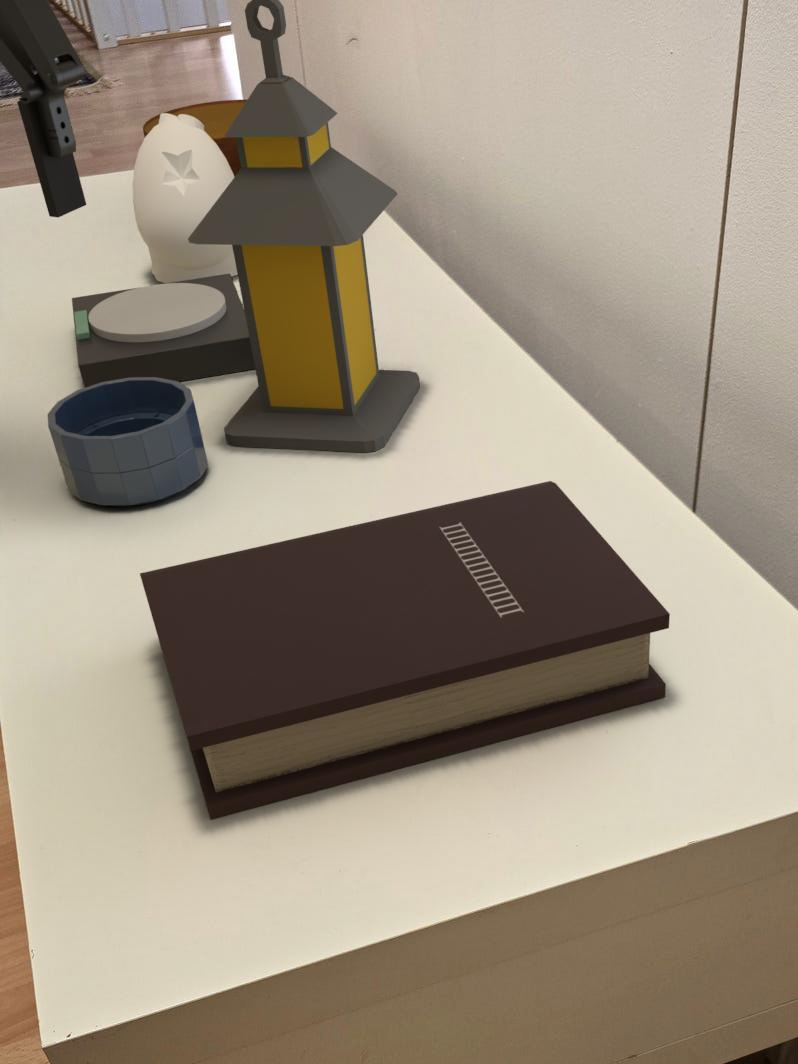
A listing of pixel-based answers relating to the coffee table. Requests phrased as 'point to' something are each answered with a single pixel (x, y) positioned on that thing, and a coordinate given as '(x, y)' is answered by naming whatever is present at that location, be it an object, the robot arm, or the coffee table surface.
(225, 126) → the bowl
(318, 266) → the lantern
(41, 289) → the coffee table surface
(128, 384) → the glazed bowl
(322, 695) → the book
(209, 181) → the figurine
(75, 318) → the scale
